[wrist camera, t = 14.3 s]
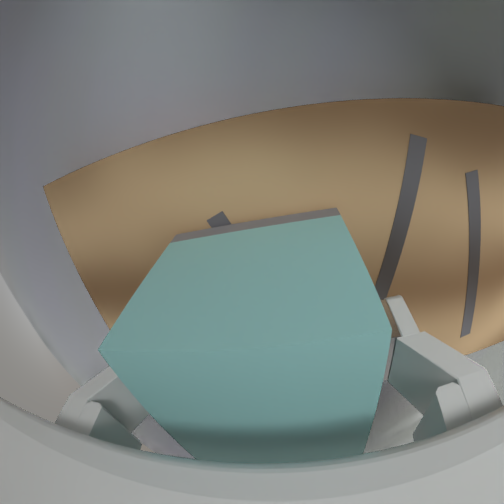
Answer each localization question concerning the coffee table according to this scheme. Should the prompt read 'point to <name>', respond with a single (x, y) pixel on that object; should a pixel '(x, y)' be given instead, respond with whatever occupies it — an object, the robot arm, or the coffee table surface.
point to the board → (314, 201)
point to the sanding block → (257, 341)
